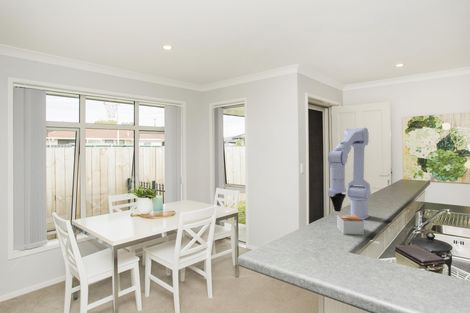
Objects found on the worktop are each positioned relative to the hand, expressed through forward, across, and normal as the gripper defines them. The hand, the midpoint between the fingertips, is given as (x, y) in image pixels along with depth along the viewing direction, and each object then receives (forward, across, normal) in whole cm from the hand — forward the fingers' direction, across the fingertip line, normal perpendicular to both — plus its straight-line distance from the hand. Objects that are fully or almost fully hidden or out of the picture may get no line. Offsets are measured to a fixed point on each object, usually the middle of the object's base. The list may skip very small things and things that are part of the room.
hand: (337, 211), depth 122 cm
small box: (+5, -6, +2) cm, 8 cm away
